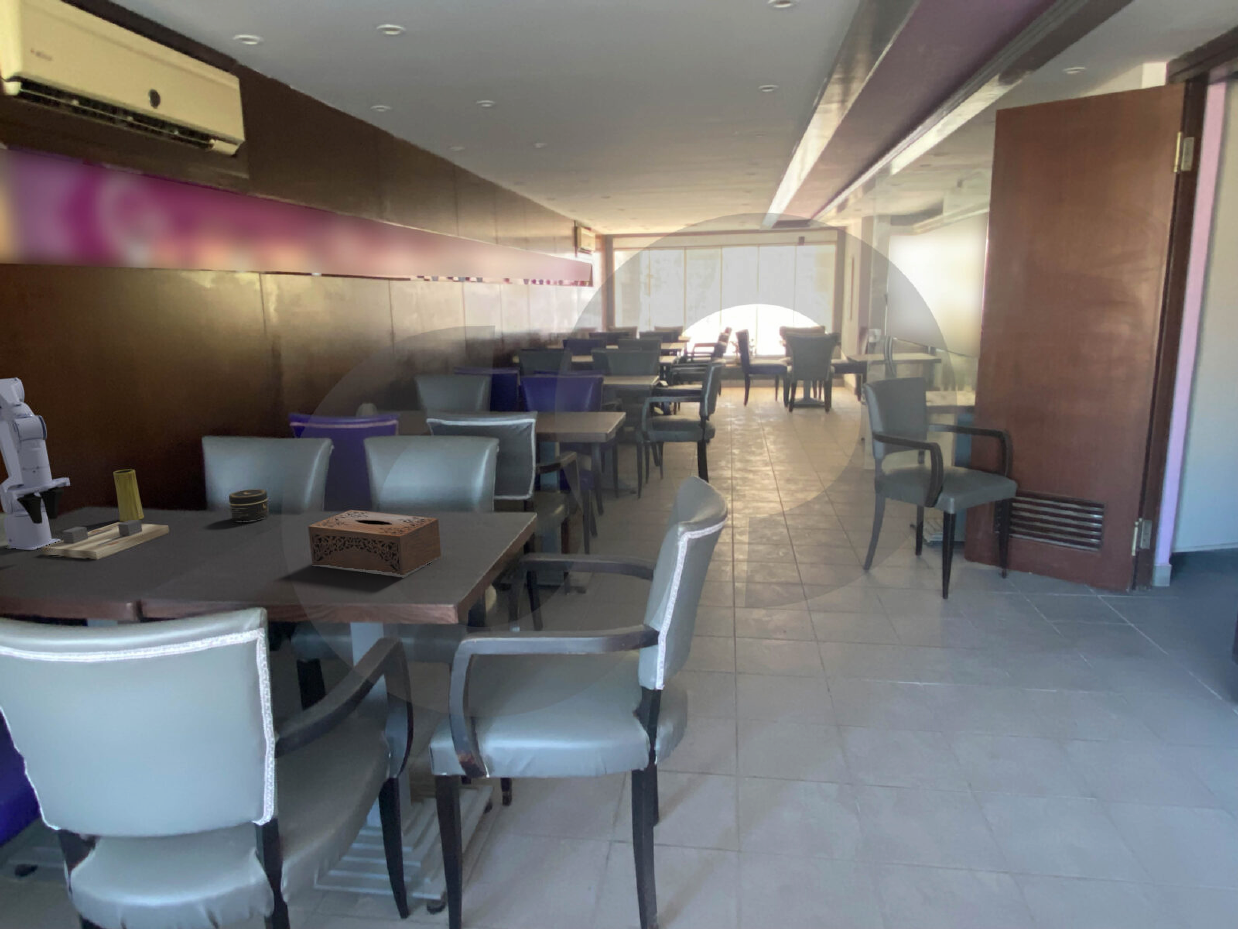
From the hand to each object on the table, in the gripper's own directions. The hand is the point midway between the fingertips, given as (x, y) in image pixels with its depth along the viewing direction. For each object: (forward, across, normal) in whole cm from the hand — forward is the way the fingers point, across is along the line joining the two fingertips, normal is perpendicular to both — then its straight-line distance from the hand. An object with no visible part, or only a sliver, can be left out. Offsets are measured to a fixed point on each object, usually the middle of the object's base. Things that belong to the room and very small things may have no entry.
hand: (45, 520), depth 192 cm
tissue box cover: (+10, +13, -83) cm, 85 cm away
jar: (+10, +39, -26) cm, 48 cm away
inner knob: (+7, +7, 0) cm, 10 cm away
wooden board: (+9, +12, -4) cm, 16 cm away
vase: (+10, +32, +9) cm, 35 cm away
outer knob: (+7, +15, -9) cm, 19 cm away
